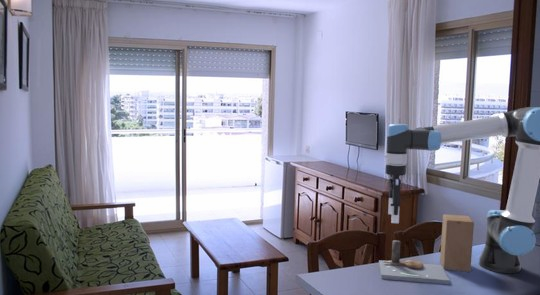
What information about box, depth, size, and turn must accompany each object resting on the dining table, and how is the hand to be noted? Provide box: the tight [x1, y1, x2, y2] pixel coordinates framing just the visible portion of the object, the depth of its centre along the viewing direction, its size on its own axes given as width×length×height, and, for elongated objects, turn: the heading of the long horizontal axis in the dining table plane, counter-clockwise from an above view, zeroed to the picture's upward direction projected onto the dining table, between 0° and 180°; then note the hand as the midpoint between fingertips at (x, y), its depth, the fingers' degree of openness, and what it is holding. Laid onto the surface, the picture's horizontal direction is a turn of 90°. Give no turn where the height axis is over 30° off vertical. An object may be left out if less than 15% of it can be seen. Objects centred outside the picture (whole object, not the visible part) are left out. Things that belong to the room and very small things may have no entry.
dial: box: [382, 239, 424, 269], centre depth 185 cm, size 15×7×9 cm, turn 80°
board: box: [378, 259, 451, 285], centre depth 181 cm, size 24×16×2 cm, turn 80°
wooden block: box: [439, 213, 475, 272], centre depth 189 cm, size 10×10×20 cm
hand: (393, 218), depth 184 cm, fingers open, 13 cm apart
